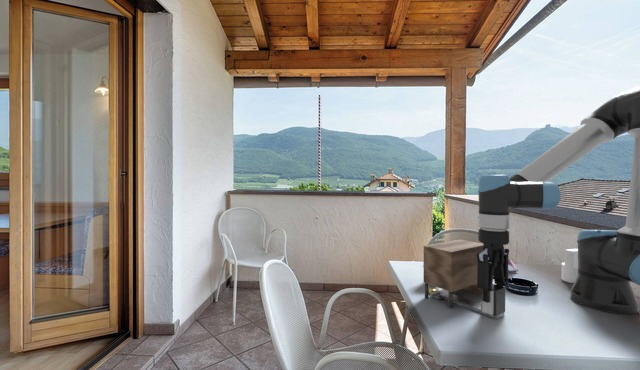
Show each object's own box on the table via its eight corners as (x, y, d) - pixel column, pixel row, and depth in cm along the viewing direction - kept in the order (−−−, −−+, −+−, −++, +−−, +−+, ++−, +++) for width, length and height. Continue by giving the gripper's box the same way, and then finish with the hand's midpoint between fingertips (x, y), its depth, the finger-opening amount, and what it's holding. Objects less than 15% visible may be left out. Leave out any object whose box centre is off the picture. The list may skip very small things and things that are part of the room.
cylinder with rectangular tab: (581, 286, 105) (582, 253, 105) (555, 278, 114) (555, 248, 114) (598, 283, 108) (599, 251, 108) (572, 276, 117) (572, 246, 116)
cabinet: (487, 294, 97) (487, 244, 97) (451, 308, 87) (451, 252, 86) (459, 285, 106) (459, 239, 106) (423, 297, 95) (423, 245, 95)
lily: (508, 278, 117) (522, 259, 115) (481, 261, 126) (494, 242, 125) (518, 281, 124) (531, 263, 122) (492, 265, 133) (504, 247, 132)
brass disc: (441, 293, 99) (441, 289, 99) (434, 295, 97) (434, 292, 97) (430, 289, 102) (430, 286, 102) (423, 292, 100) (423, 288, 100)
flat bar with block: (507, 314, 83) (507, 286, 83) (493, 321, 79) (493, 291, 79) (444, 291, 100) (444, 268, 100) (430, 296, 96) (430, 272, 96)
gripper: (495, 224, 90) (495, 299, 91) (462, 229, 81) (462, 313, 81) (522, 228, 84) (522, 307, 84) (490, 234, 74) (490, 324, 75)
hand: (493, 310), depth 83 cm, fingers closed on flat bar with block, 5 cm apart
